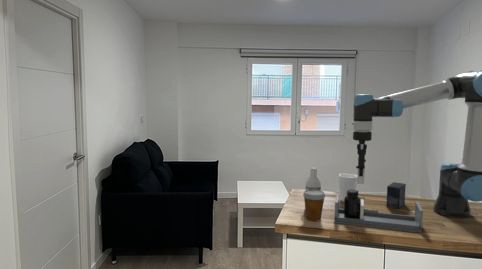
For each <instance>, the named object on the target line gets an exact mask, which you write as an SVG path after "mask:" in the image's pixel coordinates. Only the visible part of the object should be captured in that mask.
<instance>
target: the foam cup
mask: <svg viewBox="0 0 482 269" xmlns="http://www.w3.org/2000/svg"><path fill="white" fill-rule="evenodd" d="M337 176H338V185H339V195H340V201H342V202H344V198H345V197H346V196H347V190H357V185H358V184H357V174H355V173H347V172H344V173H339V174H338V175H337Z"/></svg>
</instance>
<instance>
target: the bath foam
mask: <svg viewBox="0 0 482 269" xmlns="http://www.w3.org/2000/svg"><path fill="white" fill-rule="evenodd" d="M317 174H318V168H317V167H314V166H313V167H310V176H309V177H308V178H307V180H306V181H305V182H306V183H305V191H306V190H320V191H322V185H321V181H320V179H319V177H318V175H317Z"/></svg>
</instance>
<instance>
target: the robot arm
mask: <svg viewBox="0 0 482 269" xmlns="http://www.w3.org/2000/svg"><path fill="white" fill-rule="evenodd" d="M446 99H447V100H448V101H450V100H455V99H464V104H466V106H467V116H466V125H465V132H464V133H465V134H464V140H463V141H464V142H463V151H462V158H461V160H462V161H461V163H442V164H441V165H440V170H439V184H438V186H439V187H438V195H437V198H436V199H435V201H434V204H433V212H435V213H437V214H439V215H442V216H446V217H451V218H458V219H459V218H460V219H461V218H469V217H470V216H471V212H472V211H471V206H470V203H469V201H471V202H476V203H477V202H478V203H479V202H482V70H469V71H466V72H463V73H460V74H456V75H453V76H451V77H447V78H444V79H443V80H442V81H440V82H436V83H432V84H430V85H424V86H421V87H417V88H413V89H409V90H405V91H401V92H397V93H392V94H389V95H385V96H381V97H374V94H371V93H370V94H368V93H367V94H363V93H361V94H359V93H357V94H355V96H354V101H353V122H352V123H351V125H352V126H353V127H352V130H353V132H352V140H354V141H358V143H357V144H356V149H357V155H358V158H357V165H356V166H355V168H356V169H357V174H356V175H357V184H356V185H358V184H359V185H365V171H366V169H365V168H366V166H365V163H366V162H367V160H366V157H365V156H366V155H367V148H368V144H366V141H367V142H369V141H372V140H373V139H372V137H373V134H372V133H373V132H372V130H373V118H398V117H401V116H402V115H403V112H404V109H407V108H411V107H416V106H421V105H424V104H428V103H433V102H437V101H441V100H446Z"/></svg>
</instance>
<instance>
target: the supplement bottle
mask: <svg viewBox="0 0 482 269" xmlns="http://www.w3.org/2000/svg"><path fill="white" fill-rule="evenodd" d="M361 199H362V198H360V196H359V190H357V189H356V190H347V196H346V197H345V198H344V201H343V209H344V217H345V218H353V219H359V218H360V206H361Z"/></svg>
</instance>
